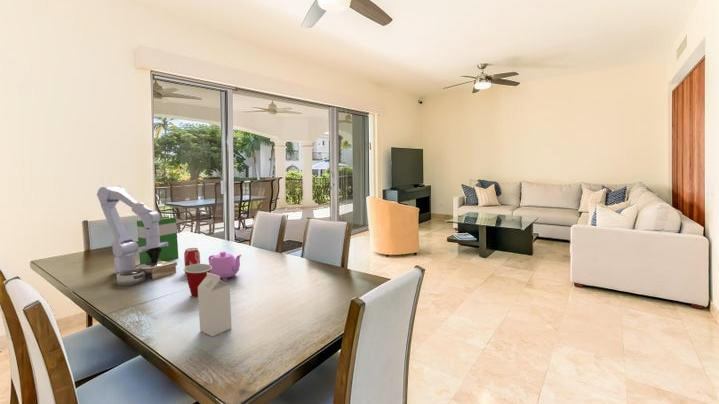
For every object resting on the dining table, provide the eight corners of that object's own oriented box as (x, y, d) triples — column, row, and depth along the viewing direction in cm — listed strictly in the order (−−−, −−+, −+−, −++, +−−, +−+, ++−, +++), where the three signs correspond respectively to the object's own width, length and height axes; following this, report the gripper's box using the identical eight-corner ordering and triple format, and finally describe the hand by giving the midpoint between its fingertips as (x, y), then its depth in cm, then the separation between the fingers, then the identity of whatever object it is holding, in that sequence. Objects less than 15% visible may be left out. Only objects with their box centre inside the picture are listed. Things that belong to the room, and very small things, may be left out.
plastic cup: (201, 300, 140) (199, 271, 139) (179, 298, 143) (177, 269, 142) (219, 291, 151) (217, 264, 149) (198, 288, 154) (196, 262, 152)
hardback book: (170, 256, 207) (168, 216, 205) (178, 258, 204) (175, 217, 201) (139, 263, 192) (136, 220, 189) (147, 265, 188) (144, 221, 186)
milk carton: (219, 323, 121) (216, 269, 119) (231, 328, 117) (229, 273, 115) (199, 331, 115) (196, 275, 113) (212, 337, 111) (209, 279, 109)
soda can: (194, 275, 173) (193, 251, 171) (182, 274, 174) (180, 250, 173) (203, 270, 180) (202, 247, 178) (191, 269, 181) (190, 247, 180)
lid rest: (135, 276, 171) (134, 266, 171) (160, 268, 183) (159, 259, 182) (153, 279, 166) (152, 269, 165) (177, 272, 177) (177, 262, 177)
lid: (133, 267, 169) (133, 263, 169) (154, 262, 178) (154, 258, 178) (148, 270, 164) (147, 266, 164) (168, 264, 174) (168, 260, 174)
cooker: (109, 283, 161) (108, 273, 161) (133, 276, 171) (132, 267, 170) (129, 288, 155) (128, 278, 154) (153, 280, 165) (152, 271, 164)
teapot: (252, 275, 172) (251, 250, 171) (232, 284, 159) (231, 257, 158) (219, 271, 179) (218, 247, 178) (197, 279, 166) (196, 254, 164)
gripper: (143, 239, 163) (145, 268, 165) (171, 234, 176) (173, 260, 178) (133, 238, 166) (136, 266, 168) (162, 232, 179) (164, 258, 181)
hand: (154, 263), depth 173 cm, fingers closed
